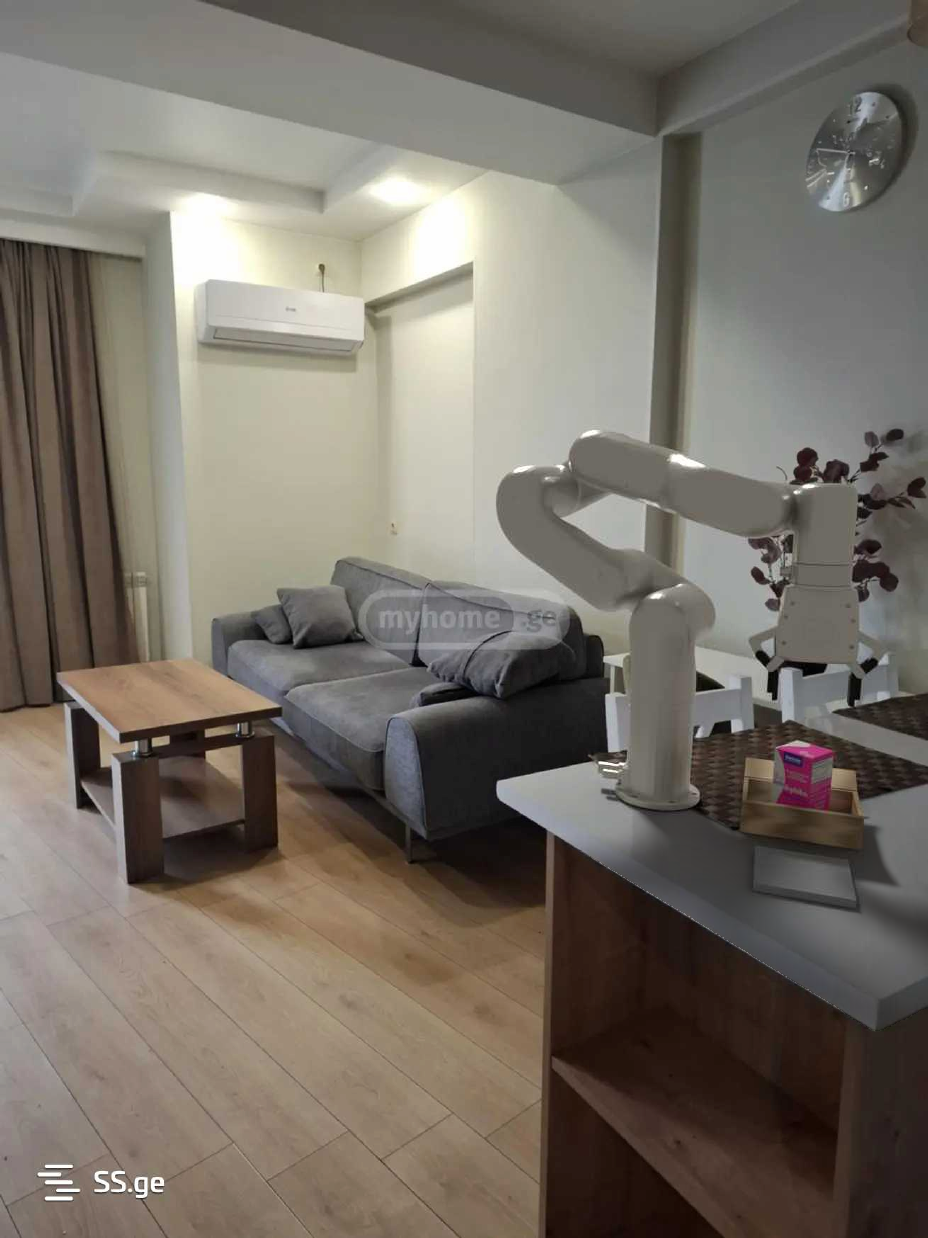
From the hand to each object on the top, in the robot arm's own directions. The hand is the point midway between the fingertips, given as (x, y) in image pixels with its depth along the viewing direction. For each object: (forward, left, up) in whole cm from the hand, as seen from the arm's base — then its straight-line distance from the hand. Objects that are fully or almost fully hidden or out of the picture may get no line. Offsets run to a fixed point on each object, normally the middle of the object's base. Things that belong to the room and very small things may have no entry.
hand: (811, 701), depth 114 cm
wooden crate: (0, 0, -18) cm, 18 cm away
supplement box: (0, 0, -18) cm, 18 cm away
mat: (0, -17, -18) cm, 25 cm away
